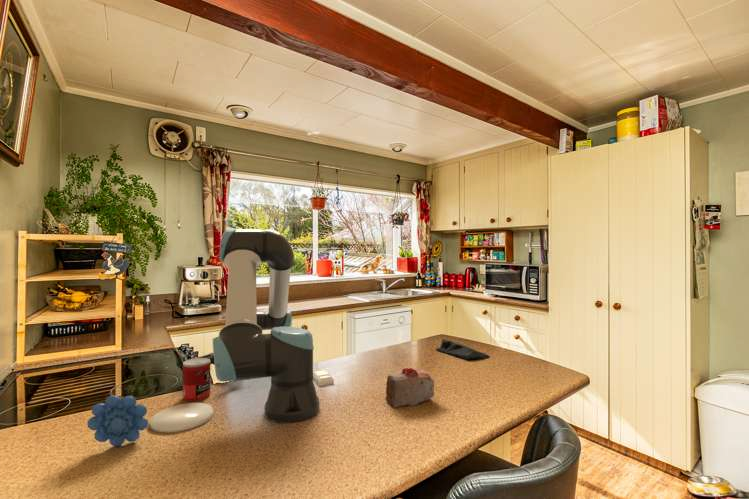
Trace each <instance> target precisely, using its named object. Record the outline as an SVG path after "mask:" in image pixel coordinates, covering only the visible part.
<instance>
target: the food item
mask: <svg viewBox="0 0 749 499" xmlns="http://www.w3.org/2000/svg"><path fill="white" fill-rule="evenodd" d="M401 371H402V372H399V373H395V374H394V373H393V374H389V375H387V376H386V377H387V378H386V387H385V389H386V390H385V394H386V395H385V401H386V402H387V403H388V405H389V404H390V406H392V408H398V407H403V406H407V405H410V406H413V407H414V406H416V405H418V404H419V403H423V402H427V401H430V399H433V398H434V396H435V380H434V379H433V378H432V376H431V375H430V374H429V373H428V371H426V370H424V369H419V370H416V369H414V368H411V367H409V368H408V367H406V368H405V367H404V368H403V369H402V370H401Z"/></svg>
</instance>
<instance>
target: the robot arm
mask: <svg viewBox="0 0 749 499" xmlns="http://www.w3.org/2000/svg"><path fill="white" fill-rule="evenodd" d="M219 261H220V262H221V263H223V264H224V267H225V268H226V269H227V270H228V272H227V273H228V274H227V275H228V276H227V290H226V292H227V294H226V309H225V310H226V312H225V325H224V326H223V327H222V328H221V329H220V331H219V334H218V336H216V337H213V339H212V351H213V352H210V353H207V354H204V355H201V356H196V357H193V358H192V359H195V358H208V359H210V365H214V369H215V370H214V371H215V376H216V379H217V380H218V381H220V382H233V383H234V382H237V381H245V380H253V379H254V380H255V379H261V378H271V380H270V382H271V383H270V387H269V391H268V395H267V399H266V400H265V404H264V416H265V418H266V419H268V420H270V421H272V422H275V423H296V422H302V421H305V420H307V419H310V418H312V417H314V416H315V415H316V414H317V413H319V410H320V399H319V396H318V394H317V390H316V386H315V383H314V379H313V373H314V348H315V347H314V338H313V334H312V333H311V331H309V330H307V329H305V328H301V327H298V326H297V327H295V326H292V320H293V319H292V311H291V310H288V304H289V293H290V292H289V290H290V279H291V278H290V277H291V269H292V268H293V267H294V264H295V253H294V250H293V248H292V245H291V243H290V242H289V241H288V239H287V238H286V237H285V236H284V234H282V233H280V232H279V231H276V230H274V229H254V228H251V229H249V228H247V229H245V228H244V229H243V228H242V229H241V228H231V229H225V230H224V231H223V233H222V235H221V238H220V247H219ZM261 263H267V266H268V268H269V285H268V286H269V288H268V289H269V291H268V292H269V293H268V311H258V310H257V307H258V304H257V303H258V301H257V269H259V267H260V266H261ZM269 330H270V332H269V333H263V331H269ZM190 359H191V358H190ZM190 359H188V360H190Z"/></svg>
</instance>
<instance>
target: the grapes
mask: <svg viewBox="0 0 749 499" xmlns="http://www.w3.org/2000/svg"><path fill="white" fill-rule="evenodd" d="M147 412H148V409H147V407H146V406H145V405H144V404H137V399H136V398H135V397H134V396H132V395H126V396H124V397H123V398H120V397H119V396H118V395H117V394H115V395H113V394H111V395H110V396H107V397H106V399H105V401H104V403H102V402H100V403H98V402H97V403H96V404H94V405H93V406H92V408H91V414H92V415H93V416H92V417H90V418H89V419H88V421H87V427H88V429H89V430H91V431H95V432H94V434H93V436H94V440H96V441H97V442H99V443H105V442H106V441H108V442H109V444H110V445H111V446H113V447H120V446H122V445H123V444H124V443H125V441H128V442H130V443H131V442H133V443H134V442H136V441H137V440H138V439H139V438H140V431H144V430H145V429H147V428H148V426H149V420H148V419H147V418H146V417H145V416H146V415H147Z"/></svg>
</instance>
